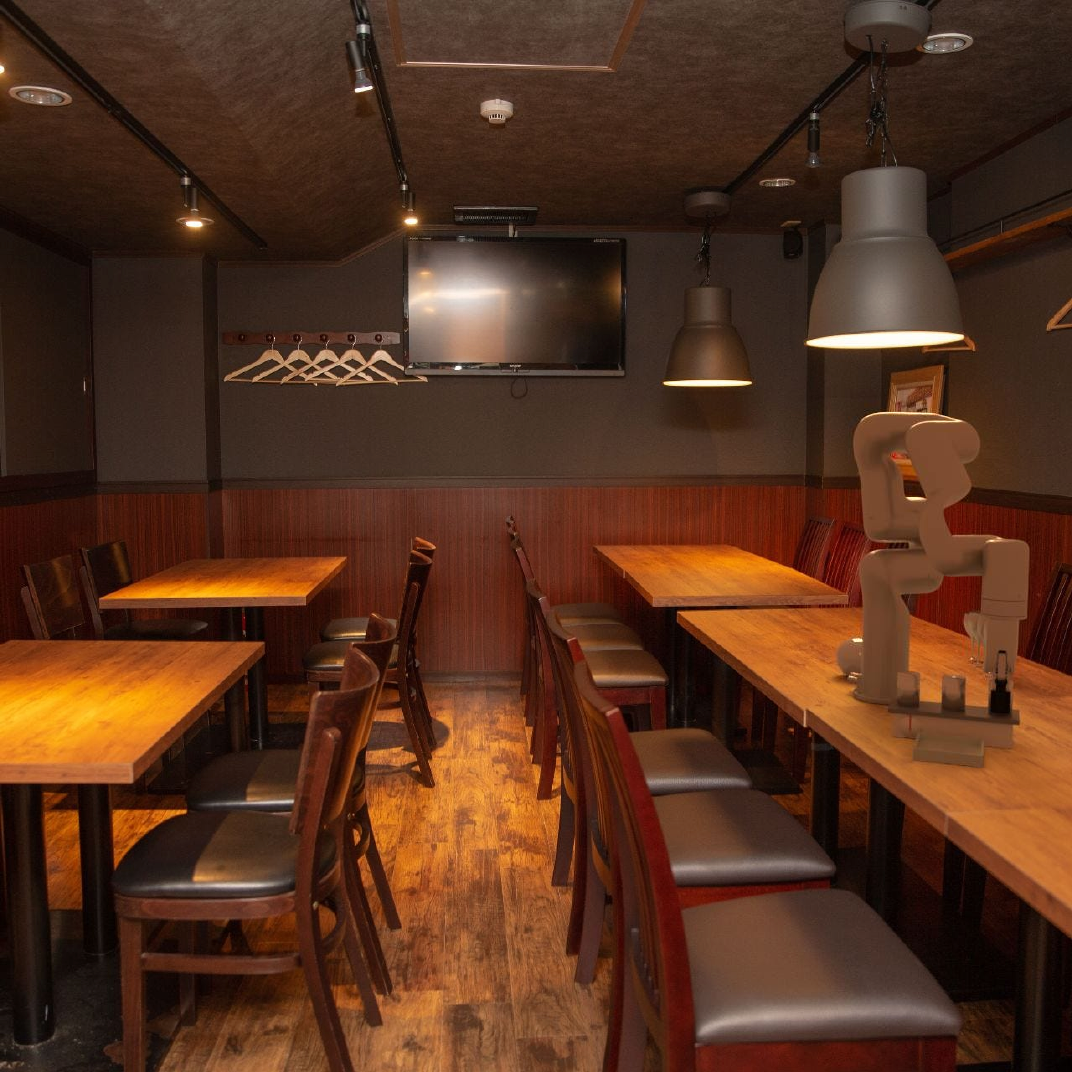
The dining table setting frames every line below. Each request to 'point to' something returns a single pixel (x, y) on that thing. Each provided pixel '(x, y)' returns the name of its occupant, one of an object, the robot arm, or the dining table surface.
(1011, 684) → the cylinder
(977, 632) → the goblet set
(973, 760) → the grey square tray
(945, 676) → the knob
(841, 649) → the potion bottle
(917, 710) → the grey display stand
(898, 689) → the left steel weight
